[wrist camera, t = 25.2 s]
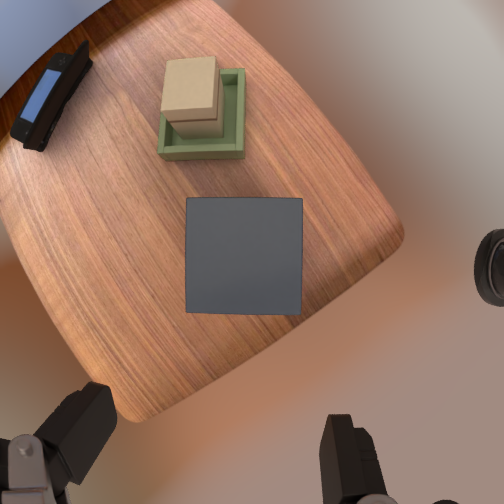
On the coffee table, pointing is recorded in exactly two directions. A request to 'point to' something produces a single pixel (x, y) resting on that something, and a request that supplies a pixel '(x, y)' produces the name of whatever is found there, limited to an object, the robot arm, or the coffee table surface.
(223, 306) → the grey block
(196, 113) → the tan lidded box
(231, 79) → the socket
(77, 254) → the coffee table surface
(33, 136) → the game console
